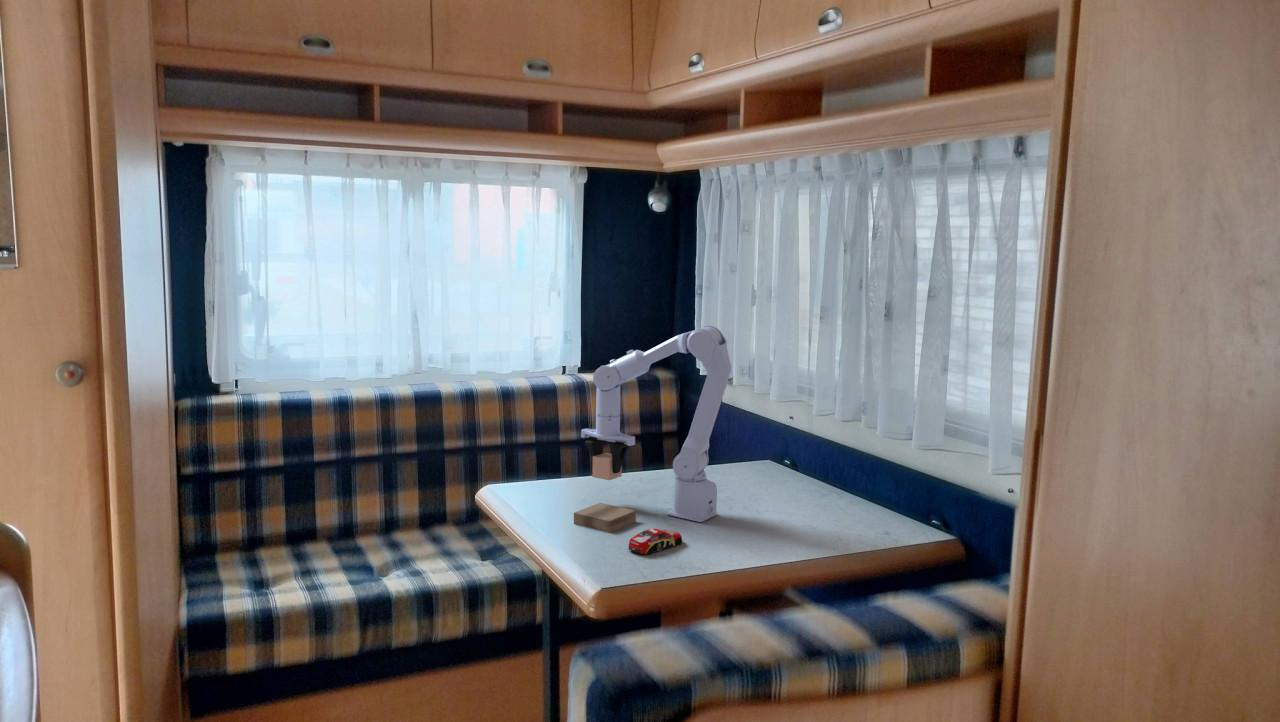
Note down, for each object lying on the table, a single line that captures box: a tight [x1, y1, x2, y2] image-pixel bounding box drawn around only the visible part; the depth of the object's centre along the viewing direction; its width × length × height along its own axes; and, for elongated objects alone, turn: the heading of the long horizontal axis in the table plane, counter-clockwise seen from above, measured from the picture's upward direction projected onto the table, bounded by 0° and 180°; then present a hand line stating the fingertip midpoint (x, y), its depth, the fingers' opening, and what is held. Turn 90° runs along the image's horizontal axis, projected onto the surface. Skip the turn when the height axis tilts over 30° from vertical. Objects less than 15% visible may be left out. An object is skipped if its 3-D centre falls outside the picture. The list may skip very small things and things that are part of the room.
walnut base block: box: [573, 502, 637, 533], centre depth 208 cm, size 10×10×3 cm
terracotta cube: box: [591, 452, 623, 481], centre depth 221 cm, size 5×5×5 cm
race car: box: [628, 528, 683, 555], centre depth 193 cm, size 13×5×4 cm, turn 133°
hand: (607, 470), depth 221 cm, fingers closed on terracotta cube, 5 cm apart
